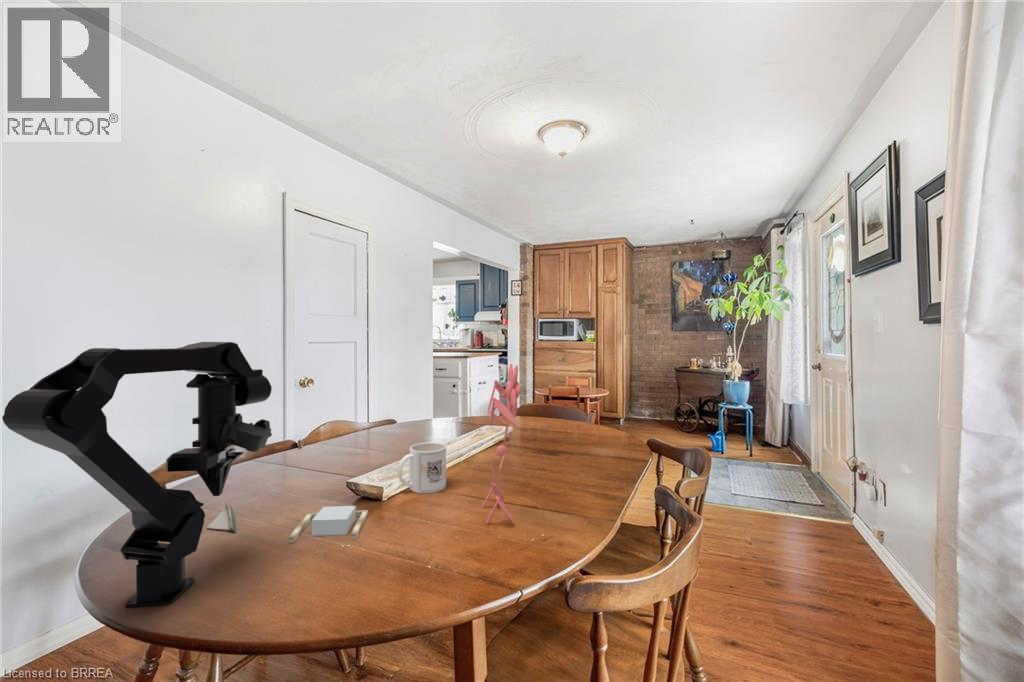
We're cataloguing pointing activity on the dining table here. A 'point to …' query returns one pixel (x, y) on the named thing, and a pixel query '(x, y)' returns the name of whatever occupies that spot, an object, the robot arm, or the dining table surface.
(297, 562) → the dining table surface
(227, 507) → the ceramic fragment
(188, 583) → the robot arm
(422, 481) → the mug
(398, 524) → the dining table surface
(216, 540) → the dining table surface
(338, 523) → the pale blue eraser block
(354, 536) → the tile bay
